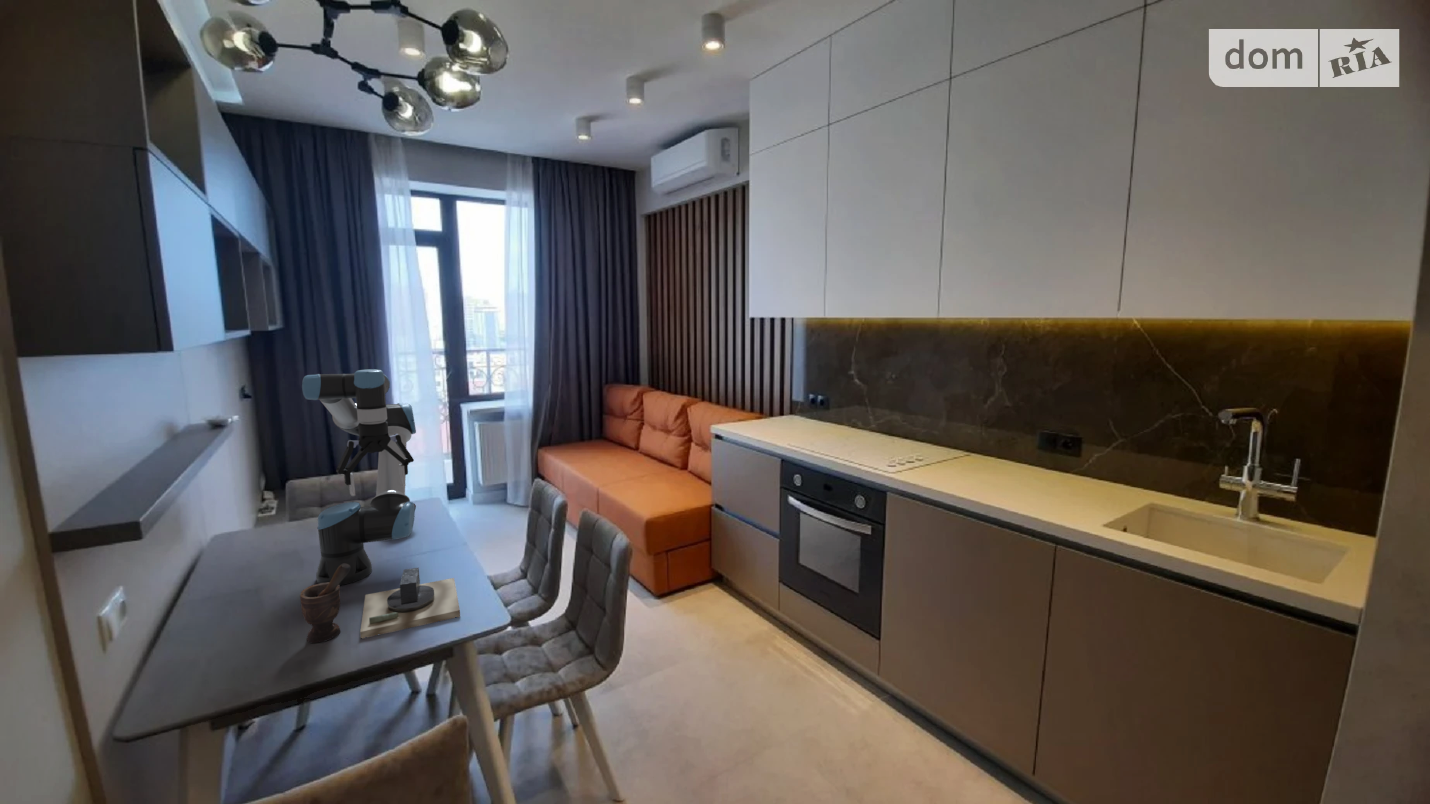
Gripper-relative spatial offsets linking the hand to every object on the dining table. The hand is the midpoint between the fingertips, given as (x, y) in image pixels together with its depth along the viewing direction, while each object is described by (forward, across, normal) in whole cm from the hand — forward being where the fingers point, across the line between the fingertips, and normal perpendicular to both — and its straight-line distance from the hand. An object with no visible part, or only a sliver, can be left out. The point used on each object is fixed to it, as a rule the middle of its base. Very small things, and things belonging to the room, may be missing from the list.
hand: (378, 490), depth 170 cm
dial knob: (+29, -2, +18) cm, 35 cm away
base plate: (+32, -1, +19) cm, 37 cm away
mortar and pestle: (+32, +18, +18) cm, 41 cm away
